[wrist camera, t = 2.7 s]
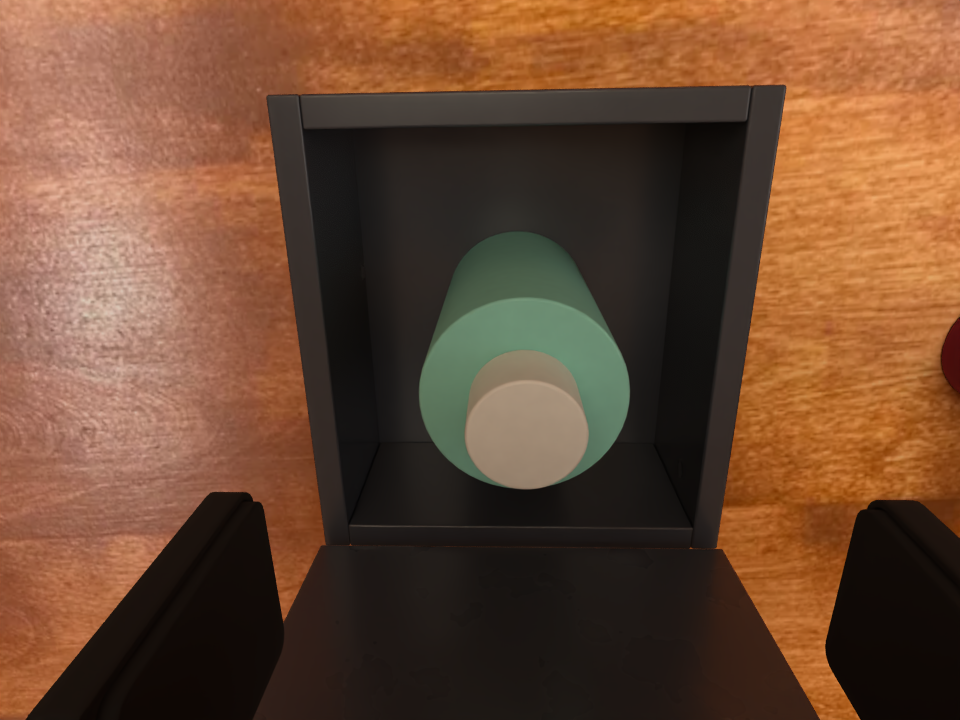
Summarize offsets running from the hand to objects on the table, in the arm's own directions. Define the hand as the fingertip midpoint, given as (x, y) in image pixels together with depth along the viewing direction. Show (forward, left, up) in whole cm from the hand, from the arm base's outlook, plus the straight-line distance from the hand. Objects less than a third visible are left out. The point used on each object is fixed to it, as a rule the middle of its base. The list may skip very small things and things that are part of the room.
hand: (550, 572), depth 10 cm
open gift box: (0, 0, -17) cm, 17 cm away
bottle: (0, 0, -16) cm, 16 cm away
